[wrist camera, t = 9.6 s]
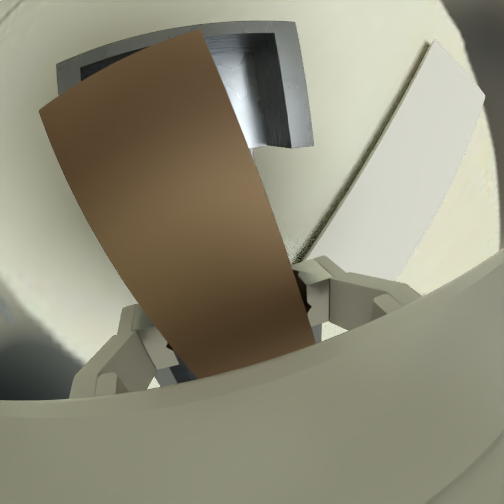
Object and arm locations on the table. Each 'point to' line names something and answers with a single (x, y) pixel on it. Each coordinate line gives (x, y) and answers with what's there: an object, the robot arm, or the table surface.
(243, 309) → the rail
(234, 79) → the bracket stand
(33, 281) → the table surface
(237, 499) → the robot arm
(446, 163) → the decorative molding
